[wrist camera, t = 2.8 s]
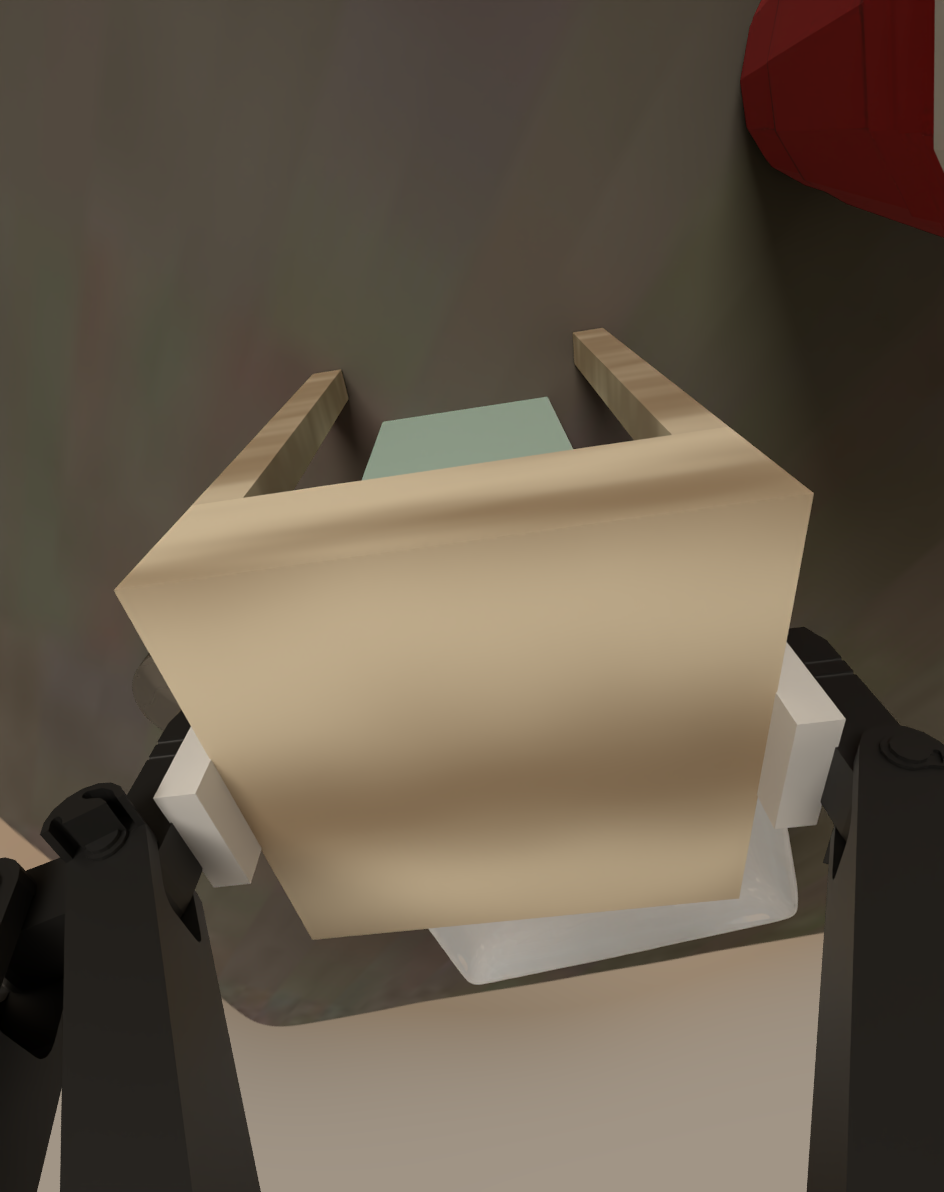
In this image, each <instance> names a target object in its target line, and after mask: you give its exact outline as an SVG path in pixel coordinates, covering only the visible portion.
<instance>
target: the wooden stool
mask: <svg viewBox="0 0 944 1192" xmlns="http://www.w3.org/2000/svg"><path fill="white" fill-rule="evenodd" d="M573 348H574V364H575V365H576V366H577V368H578V369H579V370H580V372H581V373H582V374H583V375H584V377H585V378H586V379H587V381H588V382H589V383H590V384H591V386H592V387H593V388H594V390H595V391H596V392H597V393H598V395H599V396H600V397H601V399H602V400H603V401H604V402H605V404H606V405H607V406H608V408H609V409H610V410H611V411H612V413H613V414H614V415H615V417H616V418H617V419H618V420H619V422H620V423H621V424H622V426H623V427H624V428H625V429H626V431H627V432H628V433H629V435H630V436H631V437H632V438H633V440H634V441H627V442H620V443H614V444H607V445H600V446H593V447H586V448H580V449H573V450H566V451H559V452H552V453H546V454H539V455H532V456H525V457H518V458H512V459H505V460H498V461H491V462H484V463H477V464H471V465H464V466H457V467H450V468H443V469H437V470H430V471H423V472H416V473H409V474H403V475H396V476H389V477H382V478H375V479H369V480H362V481H355V482H348V483H341V484H334V485H328V486H321V487H314V488H307V489H300V490H294V489H295V487H296V485H297V484H298V482H299V480H300V479H301V477H302V475H303V474H304V472H305V470H306V469H307V467H308V465H309V464H310V462H311V460H312V459H313V457H314V455H315V454H316V452H317V450H318V449H319V447H320V445H321V444H322V442H323V440H324V439H325V437H326V435H327V434H328V432H329V430H330V429H331V427H332V426H333V424H334V422H335V421H336V419H337V417H338V416H339V414H340V412H341V411H342V409H343V407H344V406H345V404H346V402H347V401H348V399H349V398H348V394H347V390H346V386H345V382H344V378H343V375H342V371H341V370H335V371H328V372H322V373H316V374H313V375H312V376H311V377H310V378H309V379H308V380H307V381H306V382H305V383H304V384H303V385H302V386H301V388H300V389H299V390H298V391H297V392H296V393H295V394H294V395H293V396H292V397H291V398H290V400H289V401H288V402H287V403H286V404H285V405H284V406H283V407H282V408H281V409H280V410H279V411H278V413H277V414H276V415H275V416H274V417H273V418H272V419H271V420H270V421H269V422H268V423H267V424H266V426H265V427H264V428H263V429H262V430H261V431H260V432H259V433H258V434H257V435H256V436H255V438H254V439H253V440H252V441H251V442H250V443H249V444H248V445H247V446H246V447H245V448H244V449H243V451H242V452H241V453H240V454H239V455H238V456H237V457H236V458H235V459H234V460H233V461H232V462H231V464H230V465H229V466H228V467H227V468H226V469H225V470H224V471H223V472H222V473H221V474H220V475H219V477H218V478H217V479H216V480H215V481H214V482H213V483H212V484H211V485H210V486H209V487H208V489H207V490H206V491H205V492H204V493H203V494H202V495H201V496H200V497H199V498H198V499H197V500H196V502H195V503H194V504H193V505H192V506H191V507H190V508H189V509H188V510H187V511H186V512H185V513H184V515H183V516H182V517H181V518H180V519H179V520H178V521H177V522H176V523H175V524H174V525H173V526H172V528H171V529H170V530H169V531H168V532H167V533H166V534H165V535H164V536H163V537H162V538H161V540H160V541H159V542H158V543H157V544H156V545H155V546H154V547H153V548H152V549H151V550H150V551H149V553H148V554H147V555H146V556H145V557H144V558H143V559H142V560H141V561H140V562H139V563H138V564H137V566H136V567H135V568H134V569H133V570H132V571H131V572H130V573H129V574H128V575H127V576H126V577H125V579H124V580H123V581H122V582H121V583H120V584H119V585H118V586H117V587H116V588H115V589H114V592H115V593H116V595H117V597H118V599H119V600H120V602H121V604H122V606H123V607H124V609H125V611H126V613H127V614H128V616H129V618H130V620H131V622H132V623H133V625H134V627H135V629H136V630H137V632H138V634H139V636H140V637H141V639H142V641H143V643H144V644H145V646H146V648H147V650H148V651H149V653H150V655H151V657H152V658H153V660H154V662H155V664H156V665H157V667H158V669H159V671H160V673H161V674H162V676H163V678H164V680H165V681H166V683H167V685H168V687H169V688H170V690H171V692H172V694H173V695H174V697H175V699H176V701H177V702H178V704H179V706H180V708H181V709H182V711H183V713H184V715H185V716H186V718H187V720H188V722H189V724H190V725H191V727H192V729H193V731H194V732H195V734H196V736H197V738H198V739H199V741H200V743H201V745H202V746H203V748H204V750H205V752H206V753H207V755H208V757H209V759H211V760H212V762H213V764H214V765H215V767H216V769H217V771H218V772H219V774H220V776H221V778H222V779H223V781H224V783H225V785H226V786H227V788H228V790H229V792H230V793H231V795H232V797H233V799H234V801H235V802H236V804H237V806H238V808H239V809H240V811H241V813H242V815H243V816H244V818H245V820H246V822H247V823H248V825H249V827H250V829H251V831H252V832H253V834H254V836H255V838H256V839H257V841H258V843H259V845H260V846H261V848H262V849H261V850H262V852H263V854H264V855H265V857H266V859H267V861H268V862H269V864H270V866H271V868H272V869H273V871H274V873H275V875H276V877H277V878H278V880H279V882H280V884H281V885H282V887H283V889H284V891H285V892H286V894H287V896H288V898H289V899H290V901H291V903H292V905H293V906H294V908H295V910H296V912H297V913H298V915H299V917H300V919H301V920H302V922H303V924H304V926H305V928H306V929H307V931H308V933H309V935H310V936H311V938H312V940H315V939H326V938H336V937H346V936H357V935H367V934H377V933H388V932H398V931H408V930H419V929H429V928H439V927H450V926H460V925H470V924H481V923H491V922H501V921H512V920H522V919H532V918H543V917H553V916H563V915H574V914H584V913H594V912H605V911H615V910H625V909H636V908H646V907H656V906H667V905H677V904H687V903H698V902H708V901H718V900H729V899H739V896H740V891H741V885H742V880H743V874H744V869H745V864H746V858H747V853H748V847H749V842H750V837H751V831H752V826H753V820H754V815H755V809H756V804H757V799H758V796H757V792H758V787H759V781H760V776H761V770H762V765H763V760H764V754H765V749H766V743H767V738H768V732H769V727H770V721H771V716H772V710H773V705H774V699H775V694H776V692H777V690H778V685H779V679H780V674H781V669H782V663H783V658H784V652H785V647H786V641H787V636H788V631H789V625H790V620H791V614H792V609H793V604H794V598H795V593H796V587H797V582H798V576H799V571H800V566H801V560H802V555H803V549H804V544H805V539H806V533H807V528H808V522H809V517H810V511H811V506H812V501H813V495H814V493H813V492H812V491H810V490H809V489H808V488H806V487H805V486H804V485H803V484H801V483H800V482H799V481H798V480H796V479H795V478H794V477H792V476H791V475H790V474H789V473H787V472H786V471H785V470H784V469H782V468H781V467H780V466H778V465H777V464H776V463H775V462H773V461H772V460H771V459H769V458H768V457H767V456H766V455H764V454H763V453H762V452H761V451H759V450H758V449H757V448H755V447H754V446H753V445H752V444H750V443H749V442H748V441H746V440H745V439H744V438H743V437H741V436H740V435H739V434H738V433H736V432H735V431H734V430H732V429H731V428H730V427H729V426H727V425H726V424H725V423H723V422H722V421H721V420H720V419H718V418H717V417H716V416H715V415H713V414H712V413H711V412H709V411H708V410H707V409H706V408H704V407H703V406H702V405H700V404H699V403H698V402H697V401H695V400H694V399H693V398H692V397H690V396H689V395H688V394H686V393H685V392H684V391H683V390H681V389H680V388H679V387H678V386H676V385H675V384H674V383H672V382H671V381H670V380H669V379H667V378H666V377H665V376H663V375H662V374H661V373H660V372H658V371H657V370H656V369H655V368H653V367H652V366H651V365H649V364H648V363H647V362H646V361H644V360H643V359H642V358H640V357H639V356H638V355H637V354H635V353H634V352H633V351H632V350H630V349H629V348H628V347H626V346H625V345H624V344H623V343H621V342H620V341H619V340H617V339H616V338H615V337H614V336H612V335H611V334H610V333H609V332H607V331H606V330H605V329H603V328H598V329H592V330H585V331H579V332H573ZM293 490H294V491H293Z"/></svg>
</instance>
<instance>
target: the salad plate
mask: <svg viewBox="0 0 944 1192" xmlns="http://www.w3.org/2000/svg"><path fill="white" fill-rule="evenodd" d="M797 907H798V890H797V881H796V876H795V869H794V863H793V857H792V851H791V846H790V839H789V833H788V828H782V829H774V827H773V826H772V824H771V822H770V820H769V818H768V816H767V814H766V812H765V810H764V808H763V806H762V804H761V802H760V800H759V798H758V799H757V804H756V809H755V815H754V820H753V826H752V831H751V837H750V842H749V847H748V853H747V858H746V864H745V869H744V874H743V880H742V885H741V891H740V896H739V899H729V900H718V901H708V902H698V903H687V904H677V905H667V906H656V907H646V908H636V909H625V910H615V911H605V912H594V913H584V914H574V915H563V916H553V917H543V918H532V919H522V920H512V921H501V922H491V923H481V924H470V925H460V926H450V927H439V928H429V930H430V932H431V933H432V934H433V936H434V937H435V939H436V940H437V941H438V943H439V944H440V946H441V947H442V948H443V950H444V951H445V952H446V953H447V955H448V956H449V958H450V959H451V961H452V962H453V963H454V965H455V966H456V967H457V969H458V970H459V971H460V973H461V974H462V975H463V976H464V978H465V979H466V980H467V981H468V982H470V983H472V984H476V985H480V984H486V983H492V982H496V981H501V980H505V979H511V978H516V977H521V976H526V975H531V974H535V973H540V972H545V971H550V970H555V969H559V968H564V967H569V966H575V965H579V964H584V963H589V962H594V961H599V960H604V959H608V958H613V957H618V956H622V955H627V954H631V953H636V952H640V951H645V950H650V949H654V948H659V947H663V946H667V945H672V944H677V943H681V942H686V941H691V940H695V939H700V938H705V937H709V936H714V935H718V934H723V933H727V932H732V931H737V930H741V929H746V928H750V927H755V926H759V925H764V924H769V923H773V922H777V921H780V920H784V919H788V918H790V917H792V916H793V915H794V914H795V913H796V911H797Z"/></svg>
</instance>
